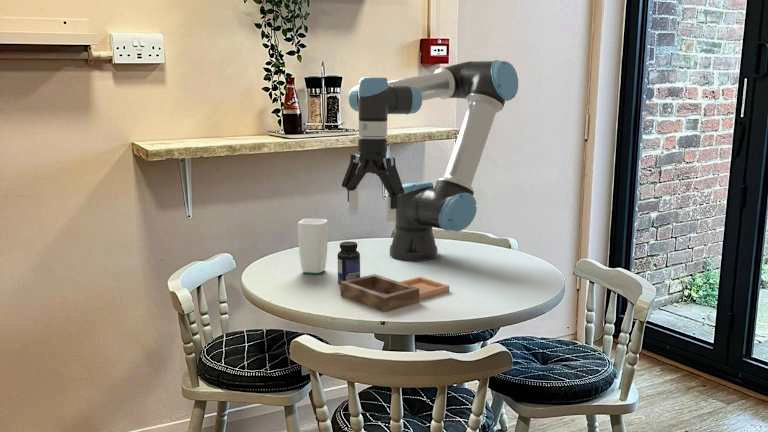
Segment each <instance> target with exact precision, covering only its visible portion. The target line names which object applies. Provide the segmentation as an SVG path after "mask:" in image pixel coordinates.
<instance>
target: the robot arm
mask: <svg viewBox="0 0 768 432" xmlns="http://www.w3.org/2000/svg"><path fill="white" fill-rule="evenodd" d="M358 83H359V85H356V86H354V87H352V88H351V89H350V91H349V93H348V104H349V106H350V108H351V109H352V110H353V111H355V112H358V136H359V137H360V138H358V141H357V142H358V143H357V145H358V146H357V151H358V153H354V154H351V155H350V158H349V159H350V162H349V164H348V167H347V170H346V173H345V175H344V177H343V180H342V182H341V187H342V188H345V189H346V190H347V202H348V215H349V216H353V215H357V214H359V190H358V188H357V187H358V186H359V185H360V183H361V181H362V180H363V179H364V177H365V176H366V174H372V175H373V174H374V175H376V176H377V177H379V180H380V181H381V184H383V186H384V189H385V190H386V192H387V194H388V195H387V196H386V222H387V223H388V222H389V223H390V222H394V223H395V228H394V229H395V231H394V235H393V238H392V242H391V244H390V246H389V256H390V257H391V258H393V259H396V260H401V261H410V262H411V261H414V262H418V261H428V260H432V259H435V258H437V257H438V246H437V244H436V239H435V236H434V234H433V233H434V232H433V228H435V229H440V230H444V231H448V232H461V231H463V230H465V229H467V228H468V227H469V226H470V225H471V224H472V222H473V221H474V219H475V217H476V214H477V211H478V210H477V208H478V207H477V200H476V198H475V196H474V195H475V190H474V188H473V187H472V185H473V181H474V178H475V175H476V172H477V169H478V166H479V163H480V161H481V159H482V155H483V151H484V149H485V146H486V143H487V142H488V138H489V135H490V131H491V129H492V126H493V122H494V119H495V118H496V114H497V113H499V112H502V111H503V109H504V106H505V103H506V101H507V102H509V101H511V100H513V99H514V98H515V97H516V95H517V93H518V90H519V77H518V72H517V70H516V69H515V67H514V66H513V64H511V62H508V61H506V60H497V59H496V60H490V61H489V60H482V61H478V60H477V61H476V60H475V61H472V60H470V61H465V62H461V63H457V64H452V65H448V66H445V67H440V68H438V69H435V71H434V72H432V73H425V74H422V75H417V76H416V75H415V76H410V77H405V78H400V79H395V80H390V81H388V78H387V77H375V76H374V77H373V76H372V77H370V76H369V77H367V76H366V77H365V76H364V77H361V78H360V79H359V82H358ZM438 98H439V99H440V100H448V99H464V100H465V99H466V101H467V103H468V107H467V109H466V112H465V115H464V118H463V121H462V123H461V127H460V129H459V132H458V134H457V137H456V141H455V143H454V147H453V149H452V152H451V155H450V158H449V161H448V164H447V167H446V169H445V173H444V175H443V176H442V177H439V178H438V179H436V183H435V185H434V183H433V182H431V181H419V182H409V183H408V182H407V183H402V181H401V178H400V175H399V172H398V170H397V164H396V158H395V157H393V156H392V157H386V153H387V151H388V139H387V138H386V137H387V136H388V117H389V116H388V115H407V116H408V115H409V114H410V115H411V114H412V115H413V114H416V113H417V112H419V111H420V110H421V107H422V105H423V101H427V100H432V99H438Z"/></svg>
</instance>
